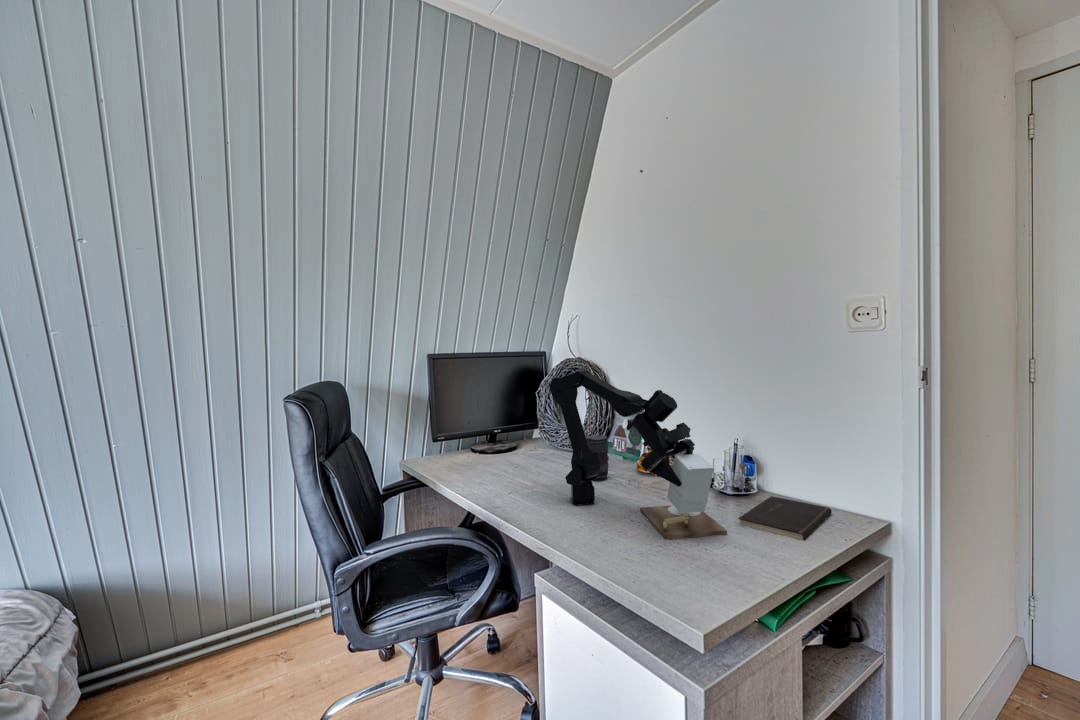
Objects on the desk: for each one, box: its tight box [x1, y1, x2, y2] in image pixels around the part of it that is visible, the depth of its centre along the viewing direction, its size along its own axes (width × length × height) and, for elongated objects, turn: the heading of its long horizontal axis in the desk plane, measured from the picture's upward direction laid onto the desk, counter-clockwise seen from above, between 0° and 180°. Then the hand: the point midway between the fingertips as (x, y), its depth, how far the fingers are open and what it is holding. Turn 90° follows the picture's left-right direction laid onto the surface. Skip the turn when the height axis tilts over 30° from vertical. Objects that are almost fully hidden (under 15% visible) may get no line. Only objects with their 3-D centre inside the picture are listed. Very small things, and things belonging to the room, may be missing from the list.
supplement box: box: [666, 453, 715, 513], centre depth 124 cm, size 7×7×13 cm
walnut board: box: [639, 504, 728, 540], centre depth 132 cm, size 16×20×1 cm
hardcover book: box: [737, 495, 832, 541], centre depth 132 cm, size 16×23×2 cm
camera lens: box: [585, 434, 609, 482], centre depth 174 cm, size 8×8×15 cm
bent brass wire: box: [663, 513, 689, 532], centre depth 127 cm, size 12×4×3 cm, turn 137°
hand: (689, 481), depth 125 cm, fingers closed on supplement box, 9 cm apart
